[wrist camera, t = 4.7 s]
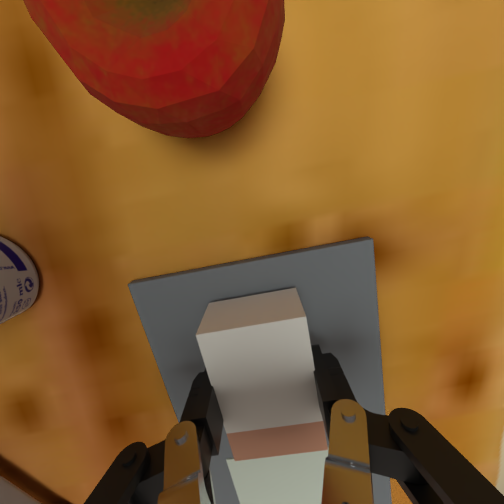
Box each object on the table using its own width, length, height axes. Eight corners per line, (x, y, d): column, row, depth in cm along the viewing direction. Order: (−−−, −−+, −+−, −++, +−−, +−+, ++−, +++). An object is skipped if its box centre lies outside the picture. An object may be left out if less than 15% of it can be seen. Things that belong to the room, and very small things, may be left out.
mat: (133, 280, 14) (126, 285, 14) (368, 236, 13) (373, 239, 13) (224, 532, 21) (223, 544, 20) (389, 517, 19) (394, 529, 19)
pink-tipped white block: (209, 302, 14) (195, 335, 11) (295, 287, 13) (306, 316, 10) (239, 410, 16) (234, 461, 13) (314, 399, 15) (328, 449, 12)
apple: (295, 50, 11) (364, -209, 4) (238, 175, 13) (211, 161, 5) (169, -24, 10) (-35, -499, 3) (126, 118, 12) (-74, 15, 5)
